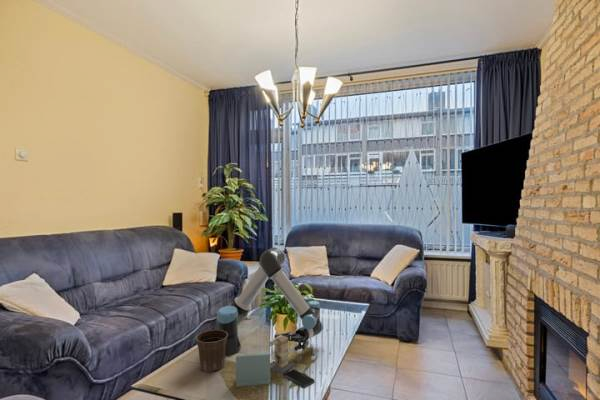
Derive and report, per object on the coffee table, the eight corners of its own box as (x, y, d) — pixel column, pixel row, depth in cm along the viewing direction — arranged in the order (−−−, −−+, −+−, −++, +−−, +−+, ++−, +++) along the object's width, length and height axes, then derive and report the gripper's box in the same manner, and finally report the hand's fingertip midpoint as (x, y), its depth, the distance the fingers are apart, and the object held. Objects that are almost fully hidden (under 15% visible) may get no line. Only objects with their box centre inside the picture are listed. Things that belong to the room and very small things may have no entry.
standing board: (236, 380, 165) (236, 353, 165) (269, 378, 167) (269, 351, 167) (235, 386, 160) (235, 358, 160) (270, 383, 162) (270, 356, 162)
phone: (304, 386, 158) (282, 374, 169) (304, 389, 158) (282, 376, 169) (315, 380, 164) (293, 368, 174) (315, 382, 164) (293, 370, 174)
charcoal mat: (266, 367, 177) (266, 365, 177) (279, 359, 186) (279, 357, 186) (282, 374, 171) (282, 372, 171) (296, 365, 179) (296, 363, 179)
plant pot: (190, 373, 171) (190, 341, 171) (203, 358, 187) (203, 328, 187) (221, 375, 169) (221, 343, 169) (232, 360, 185) (232, 330, 185)
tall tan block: (274, 365, 178) (274, 338, 177) (280, 361, 182) (280, 335, 182) (281, 368, 175) (281, 340, 174) (288, 364, 179) (288, 337, 179)
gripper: (322, 346, 186) (298, 361, 169) (286, 335, 201) (261, 348, 184) (322, 332, 186) (298, 346, 169) (286, 322, 201) (261, 334, 184)
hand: (279, 347), depth 177 cm, fingers open, 13 cm apart
